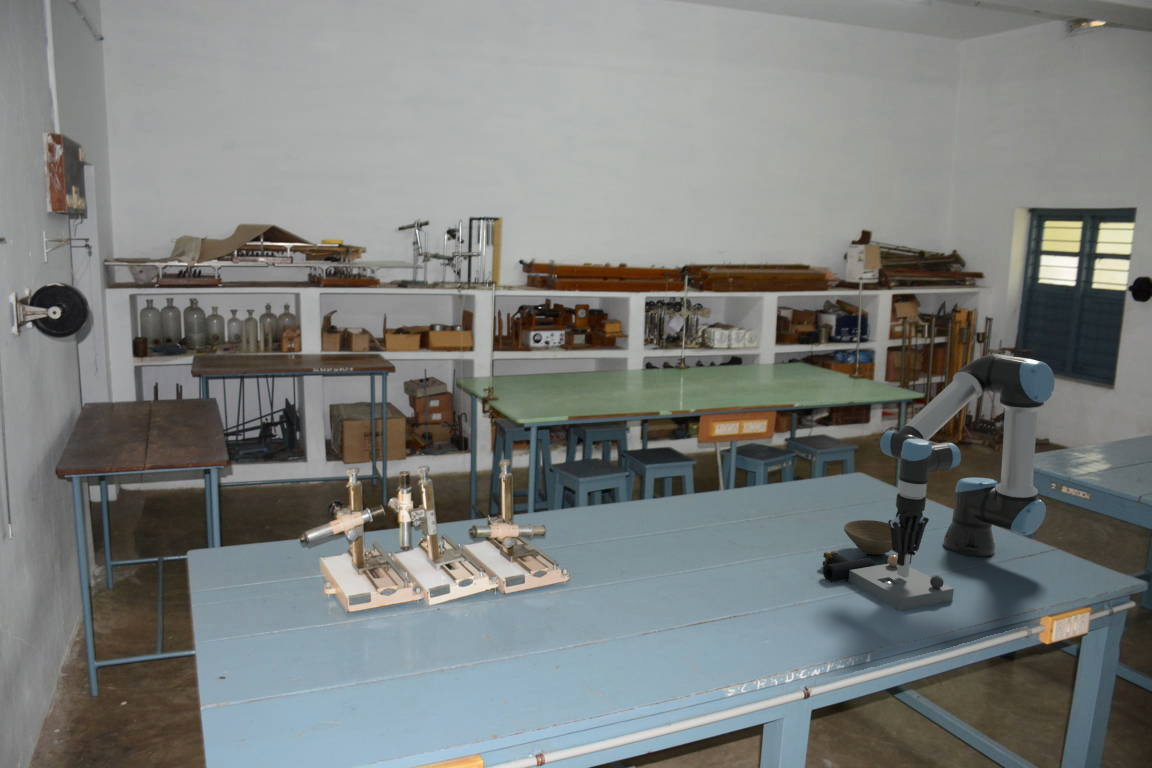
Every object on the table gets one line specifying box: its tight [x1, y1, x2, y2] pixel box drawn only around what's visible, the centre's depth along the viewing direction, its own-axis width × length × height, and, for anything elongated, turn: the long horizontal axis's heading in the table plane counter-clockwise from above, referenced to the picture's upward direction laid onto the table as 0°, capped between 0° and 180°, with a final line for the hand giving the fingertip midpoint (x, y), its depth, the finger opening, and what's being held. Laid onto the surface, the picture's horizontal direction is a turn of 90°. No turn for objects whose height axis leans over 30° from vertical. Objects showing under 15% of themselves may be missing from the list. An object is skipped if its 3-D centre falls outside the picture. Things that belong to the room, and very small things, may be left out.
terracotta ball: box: [887, 554, 898, 567], centre depth 250 cm, size 3×3×3 cm
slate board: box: [847, 563, 955, 612], centre depth 241 cm, size 19×20×4 cm
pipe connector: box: [822, 550, 876, 583], centre depth 252 cm, size 12×5×15 cm
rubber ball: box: [930, 575, 945, 589], centre depth 236 cm, size 3×3×3 cm
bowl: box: [843, 519, 893, 556], centre depth 269 cm, size 18×18×8 cm
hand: (902, 575), depth 241 cm, fingers closed
